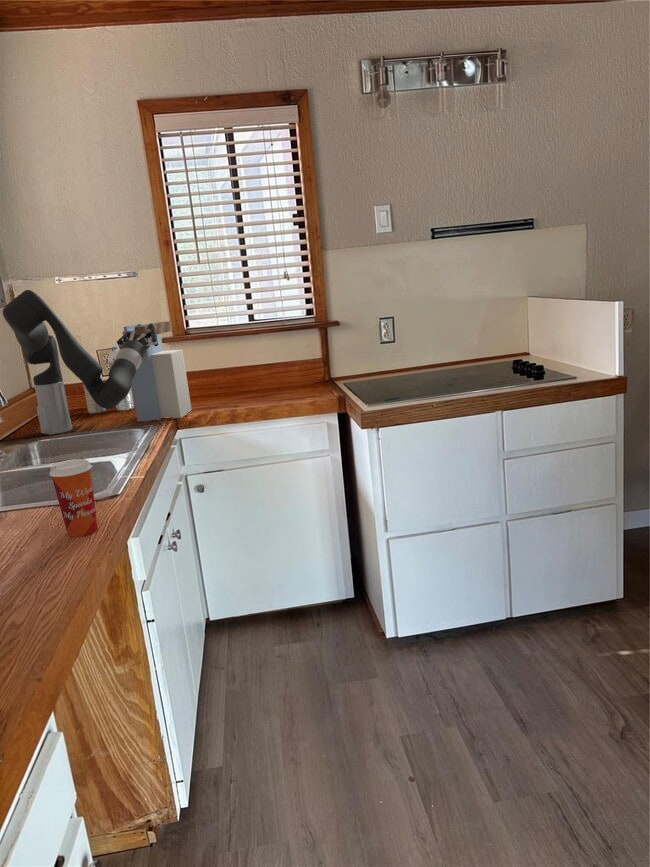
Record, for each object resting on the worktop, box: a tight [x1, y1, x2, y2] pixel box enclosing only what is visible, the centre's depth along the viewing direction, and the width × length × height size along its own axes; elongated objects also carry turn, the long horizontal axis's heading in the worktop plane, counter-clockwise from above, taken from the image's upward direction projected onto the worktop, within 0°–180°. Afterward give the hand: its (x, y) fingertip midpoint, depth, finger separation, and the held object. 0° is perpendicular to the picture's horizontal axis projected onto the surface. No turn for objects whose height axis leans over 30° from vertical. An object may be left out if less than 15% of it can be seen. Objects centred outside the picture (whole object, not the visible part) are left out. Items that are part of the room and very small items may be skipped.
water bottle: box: [107, 345, 135, 412], centre depth 250 cm, size 7×7×25 cm
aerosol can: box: [82, 383, 107, 415], centre depth 251 cm, size 7×7×20 cm
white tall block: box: [151, 348, 193, 419], centre depth 229 cm, size 11×8×23 cm
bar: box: [134, 320, 172, 337], centre depth 215 cm, size 21×4×4 cm, turn 171°
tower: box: [122, 321, 164, 422], centre depth 228 cm, size 13×8×34 cm, turn 171°
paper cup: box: [49, 458, 99, 538], centre depth 124 cm, size 8×8×14 cm
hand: (146, 326), depth 209 cm, fingers closed on bar, 3 cm apart
